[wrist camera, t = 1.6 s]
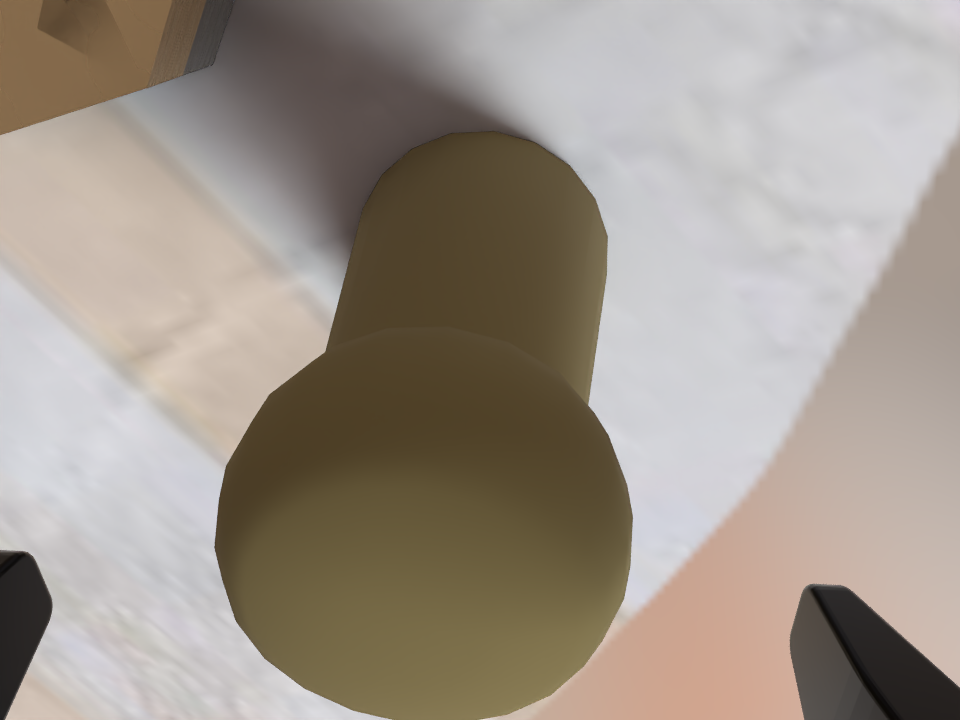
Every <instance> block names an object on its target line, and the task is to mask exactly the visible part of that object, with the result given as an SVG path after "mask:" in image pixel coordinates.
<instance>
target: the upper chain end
mask: <svg viewBox="0 0 960 720" xmlns="http://www.w3.org/2000/svg"><path fill="white" fill-rule="evenodd" d="M205 3H206V0H0V135H2V134H5V133H8V132H11V131H15V130H18V129H21V128H24V127H27V126H30V125H33V124H36V123H39V122H42V121H46V120H49V119H52V118H55V117H58V116H61V115H64V114H67V113H70V112H74V111H77V110H80V109H83V108H86V107H89V106H92V105H95V104H98V103H101V102H105V101H108V100H111V99H114V98H117V97H120V96H123V95H126V94H129V93H133V92H136V91H139V90H142V89H145V88H149V87H152V86H155V85H157V84H160V83H163V82H166V81H169V80H171V79H174V78H177V77H180V76H183V73H184V69H185V66H186V63H187V60H188V57H189V54H190V51H191V47H192V44H193V41H194V38H195V35H196V32H197V28H198V25H199V22H200V19H201V16H202V13H203V10H204V6H205Z"/></svg>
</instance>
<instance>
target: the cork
mask: <svg viewBox="0 0 960 720" xmlns="http://www.w3.org/2000/svg"><path fill="white" fill-rule="evenodd" d="M607 241H608V236H607V233H606V230H605V227H604V224H603V221H602V218H601V215H600V212H599V209H598V206H597V203H596V199H595V198H594V197H593V195H592V194H591V193H590V191H589V190H588V189H587V187H586V186H585V185H584V184H583V182H582V181H581V180H580V178H579V177H578V176H577V174H576V173H575V172H574V170H573V169H572V168H571V166H569V165H568V164H566V163H565V162H563V161H562V160H560V159H559V158H557V157H556V156H554V155H553V154H551V153H550V152H548V151H547V150H545V149H544V148H542V147H541V146H539V145H538V144H537V143H534V142H531V141H527V140H524V139H520V138H516V137H513V136H509V135H506V134H502V133H499V132H495V131H488V132H468V133H451V134H448V135H446V136H443V137H441V138H438V139H435V140H433V141H430V142H428V143H425V144H423V145H420V146H418V147H415V148H413V149H411V150H410V151H409V152H408V153H407V154H406V155H404V156H403V157H402V158H401V159H400V160H399V161H397V162H396V163H395V164H394V165H393V166H392V167H391V168H389V169H388V170H387V171H386V172H385V173H384V174H382V176H381V177H380V179H379V181H378V183H377V184H376V186H375V188H374V190H373V192H372V193H371V195H370V197H369V199H368V200H367V202H366V204H365V206H364V207H363V210H362V214H361V218H360V221H359V225H358V229H357V233H356V237H355V240H354V244H353V248H352V252H351V256H350V260H349V263H348V267H347V271H346V275H345V279H344V283H343V286H342V290H341V294H340V298H339V302H338V305H337V309H336V313H335V317H334V321H333V325H332V328H331V332H330V336H329V340H328V344H327V348H326V351H325V353H324V354H322V355H321V356H319V357H318V358H316V359H315V360H314V361H312V362H311V363H310V364H309V365H307V366H306V367H305V368H303V369H302V370H301V371H299V372H298V373H297V374H296V375H294V376H293V377H292V378H290V379H289V380H288V381H286V382H285V383H284V384H283V385H281V386H280V387H279V388H277V389H276V390H275V391H273V392H272V393H271V394H270V395H269V396H268V398H267V399H266V401H265V402H264V404H263V405H262V407H261V408H260V410H259V411H258V413H257V414H256V416H255V418H254V419H253V421H252V422H251V424H250V426H249V427H248V429H247V431H246V433H245V434H244V436H243V438H242V440H241V441H240V443H239V445H238V447H237V448H236V450H235V452H234V453H233V455H232V457H231V459H230V460H229V462H228V464H227V466H226V469H225V473H224V478H223V483H222V488H221V492H220V497H219V505H218V515H217V526H216V537H215V547H214V548H215V552H216V556H217V560H218V564H219V568H220V572H221V576H222V580H223V583H224V587H225V590H226V593H227V596H228V599H229V602H230V605H231V608H232V611H233V614H234V617H235V620H236V622H237V623H238V625H239V626H240V627H241V629H242V630H243V631H244V633H245V634H246V635H247V636H248V638H249V639H250V640H251V642H252V643H253V644H254V645H255V647H256V648H257V649H258V651H259V652H260V653H261V655H262V656H263V657H264V658H265V659H266V660H267V661H269V662H270V663H271V664H272V665H274V666H275V667H276V668H278V669H279V670H280V671H282V672H283V673H284V674H286V675H287V676H288V677H290V678H291V679H292V680H294V681H295V682H296V683H298V684H299V685H300V686H302V687H303V688H304V689H307V690H309V691H311V692H313V693H315V694H318V695H320V696H322V697H324V698H326V699H329V700H331V701H333V702H335V703H338V704H340V705H342V706H344V707H346V708H349V709H351V710H353V711H357V712H361V713H366V714H370V715H374V716H379V717H383V718H387V719H392V720H480V719H485V718H491V717H497V716H502V715H507V714H510V713H512V712H514V711H516V710H519V709H521V708H523V707H525V706H528V705H530V704H532V703H534V702H537V701H539V700H541V699H543V698H545V697H548V696H550V695H551V694H553V693H554V692H555V691H556V690H557V689H558V688H559V687H561V686H562V685H563V684H564V683H565V682H566V681H567V680H569V679H570V678H571V677H572V676H573V675H574V674H575V673H577V672H578V671H579V670H580V669H581V668H582V667H583V666H584V665H585V664H586V663H587V661H588V660H589V658H590V657H591V656H592V654H593V653H594V652H595V650H596V649H597V647H598V646H599V645H600V643H601V642H602V641H603V639H604V637H605V635H606V633H607V631H608V629H609V627H610V625H611V623H612V621H613V619H614V617H615V615H616V613H617V611H618V609H619V607H620V606H621V604H622V602H623V600H624V596H625V591H626V586H627V581H628V575H629V570H630V562H631V542H632V522H633V515H632V509H631V504H630V498H629V493H628V487H627V483H626V481H625V478H624V475H623V473H622V470H621V467H620V465H619V462H618V459H617V457H616V454H615V452H614V449H613V446H612V444H611V441H610V438H609V436H608V434H607V432H606V431H605V429H604V428H603V426H602V424H601V423H600V421H599V420H598V418H597V416H596V415H595V413H594V412H593V411H592V410H591V409H590V407H589V406H588V402H589V395H590V388H591V381H592V374H593V367H594V360H595V353H596V346H597V339H598V332H599V325H600V318H601V311H602V304H603V297H604V290H605V283H606V276H607Z"/></svg>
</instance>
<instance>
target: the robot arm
mask: <svg viewBox="0 0 960 720" xmlns="http://www.w3.org/2000/svg"><path fill="white" fill-rule="evenodd" d="M51 613H52V598H51V595H50V593H49V591H48V588H47V586H46V584H45V581H44V579H43V577H42V574H41V572H40V570H39V567H38V565H37V563H36V561H35V559H34V557H33V556H32V555H31V554H29V553H28V552H25V551H7V550H0V720H5V718H6V716H7V714H8V712H9V710H10V707H11V705H12V703H13V701H14V698H15V696H16V694H17V692H18V690H19V687H20V685H21V683H22V681H23V678H24V676H25V674H26V672H27V670H28V667H29V665H30V663H31V661H32V659H33V656H34V654H35V652H36V650H37V647H38V645H39V643H40V641H41V639H42V636H43V634H44V632H45V630H46V627H47V625H48V623H49V620H50V617H51ZM790 651H791V652H790V653H791V659H792V663H793V668H794V673H795V677H796V682H797V686H798V691H799V696H800V701H801V705H802V711H803V715H804V720H960V687H958V686H957V685H956V684H955V683H954V682H953V681H952V680H951V679H950V678H948V677H947V676H946V675H945V674H944V673H943V672H942V671H941V670H939V669H938V668H937V667H936V666H935V665H934V664H933V663H932V662H930V661H929V660H928V659H927V658H926V657H925V656H924V655H923V654H922V653H920V652H919V651H918V650H917V649H916V648H915V647H914V646H913V645H912V644H910V643H909V642H908V641H907V640H906V639H905V638H904V637H903V636H902V635H901V634H899V633H898V632H897V631H896V630H895V629H894V628H893V627H892V626H890V625H889V624H888V623H887V622H886V621H885V620H884V619H883V618H882V617H880V616H879V615H878V614H877V613H876V612H875V611H874V610H873V609H872V608H870V607H869V606H868V605H867V604H866V603H865V602H864V601H863V600H862V599H860V598H859V597H858V596H857V595H856V594H855V593H853V591H851V590H850V589H848V588H847V587H844V586H841V585H824V584H810V585H808V586H806V587H805V588H804V590H803V592H802V595H801V598H800V602H799V605H798V609H797V613H796V616H795V619H794V623H793V627H792V630H791V634H790Z"/></svg>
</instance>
